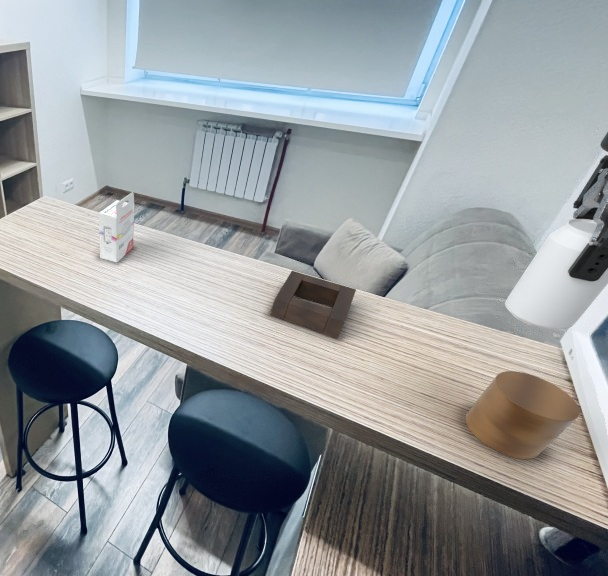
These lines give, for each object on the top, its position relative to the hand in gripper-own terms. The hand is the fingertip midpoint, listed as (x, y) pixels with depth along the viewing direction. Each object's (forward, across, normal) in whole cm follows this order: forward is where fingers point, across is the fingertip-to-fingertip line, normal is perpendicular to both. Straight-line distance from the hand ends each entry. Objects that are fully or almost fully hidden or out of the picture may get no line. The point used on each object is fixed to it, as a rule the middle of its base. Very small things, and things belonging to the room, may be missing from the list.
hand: (574, 263), depth 45 cm
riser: (+25, -2, -4) cm, 25 cm away
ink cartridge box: (+24, +10, +67) cm, 72 cm away
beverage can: (+8, 0, 0) cm, 8 cm away
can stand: (+24, +13, +24) cm, 36 cm away
